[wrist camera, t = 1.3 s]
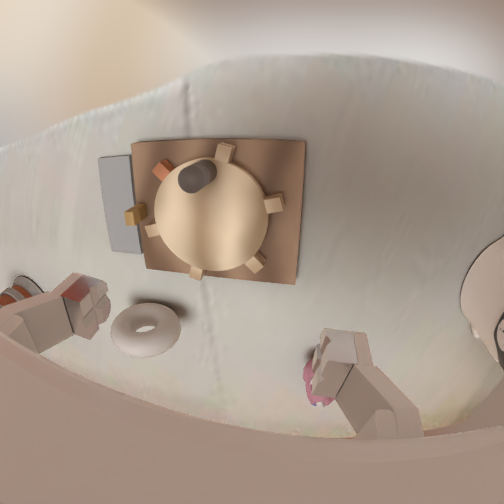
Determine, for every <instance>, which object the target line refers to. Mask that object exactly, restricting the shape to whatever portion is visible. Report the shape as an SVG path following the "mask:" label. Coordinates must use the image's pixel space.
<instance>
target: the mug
mask: <svg viewBox="0 0 504 504" xmlns="http://www.w3.org/2000/svg"><path fill="white" fill-rule="evenodd" d="M42 293H43V292H42V290H41V289H40V288H39V287H38V286H37V285H36V284H35V283H34V282H33V281H31V280H30V279H28V278H25V277H21V276H19V277H17V278H16V279H15V281H14V284H13V287H12V288H10V287H9V288H7V289H5V290H4V291H3V292H2V293H1V294H0V309H1V308H2V307H3V306H6V305H8V304H11V303H14V302H17V301H20V300H24V299H27V298H30V297H33V296H36V295H39V294H42Z"/></svg>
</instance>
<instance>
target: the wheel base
mask: <svg viewBox="0 0 504 504" xmlns="http://www.w3.org/2000/svg"><path fill="white" fill-rule="evenodd" d="M222 142H223V143H227V144H230V145H234V146H236V147H235V150H234V154H233V158H232V162H234V163H236V164H238V165H240V166H242V167H243V168H244V169H246V170H247V171H248V172H249V173H250V174H251V175H253V177H254V178H255V179H256V180H257V181H258V183H259V184H260V186H261V188H262V190H263V192H264V194H265V196H268V195H274V194H279V193H281V194H282V199H283V203H284V209H283V211H280V212H274V213H269V223H268V228H267V232H266V235H265V237H264V240H263V242H262V245H261V246H260V248H259V250H258V252H259V253H260V254H261V255H262V256H263V257H264V258H265V259H266V261H265V265H264V267H263V268H262V269H260V270H259V271H258V272H256V273H255V274H254V273H253V272H252V271H251V270H250V269H249V268H248V267H247V266H246V265H245V264H242V265H240V266H238V267H236V268H233V269H229V270H224V271H209V270H205V273H204V275H205V276H214V277H223V278H232V279H241V280H251V281H261V282H271V283H282V284H292V285H295V280H296V270H297V259H298V248H299V236H300V223H301V209H302V195H303V178H304V160H305V141H296V140H278V139H248V138H208V139H178V140H160V141H147V142H137V143H133V144H131V149H132V163H133V174H134V185H135V194H136V203H137V204H136V205H134V206H133V207H131V208H130V209H128V210H126V211H125V212H124V216H125V222H126V226H135V225H137V224H138V223H139V226H140V233H141V239H142V246H143V252H144V258H145V263H146V268H147V269H155V270H163V271H171V272H179V273H187V274H190V269H191V265H189V264H188V263H186V262H184V261H183V260H181V259H180V258H178V257H177V256H176V255H175V254H174V253H173V252H172V251H171V250H170V249H169V248H168V247H167V245H166V244H165V243H164V241H163V239H162V237H161V236H160V235H158V236H153V237H148V234H147V232H146V229H145V226H146V225H147V224H148V223H150V222H151V221H155V215H154V205H155V198H156V194H157V192H158V189H159V187H160V185H161V183H162V182H163V181H161V180H160V179H159V178H158V177H157V176H156V175H155V174H154V173H153V172H152V171H153V169H154V168H155V167H156V165H157V164H158V163H159V162H160V161H163V160H167V161H168V162H169V163H170V164H171V165H172V166H173V167H174V168H177V167H178V166H180V165H182V164H184V163H186V162H188V161H191V160H194V159H197V158H202V157H215V154H216V150H217V146H218V144H219V143H222Z"/></svg>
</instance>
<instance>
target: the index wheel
mask: <svg viewBox="0 0 504 504" xmlns="http://www.w3.org/2000/svg"><path fill="white" fill-rule="evenodd" d="M235 147H236V146H234V145H230V144H227V143H223V142H222V143H219V144H218V146H217V150H216V154H215V157H202V158H197V159H194V160H191V161H188V162H186V163H184V164H182V165H180V166H178V167H177V168H174V167H173V166H172V165H171V164H170V163H169V162H168V161H167V160H163V161H160V162H159V163H158V164H157V165H156V167H155V168H154V169H153V171H152V172H153V173H154V174H155V175H156V176H157V177H158V178H159V179H160V180H161V181H163V182H162V183H161V185H160V187H159V189H158V192H157V194H156V198H155V205H154V215H155V221H151V222H150V223H148V224H147V225H146V226H145V229H146V232H147V234H148V237H153V236H158V235H160V236H161V237H162V239H163V241H164V243H165V244H166V245H167V247H168V248H169V249H170V250H171V251H172V252H173V253H174V254H175V255H176V256H177V257H178V258H180V259H181V260H183V261H184V262H186V263H188V264H189V265H191V269H190V274H189V277H191V278H194V279H196V280H199V281H200V280H201V279H202V277H203V275H204V273H205V270H209V271H224V270H229V269H233V268H236V267H238V266H240V265H242V264H245V265H246V266H247V267H248V268H249V269H250V270H251V271H252V272H253V273H254V274H255V273H256V272H258V271H259V270H260V269H262V268H263V267H264V265H265V261H266V259H265V258H264V257H263V256H262V255H261V254H260V253H259V252H258V250H259V248H260V246H261V245H262V242H263V240H264V237H265V235H266V232H267V228H268V223H269V213H274V212H280V211H283V209H284V203H283V199H282V194H281V193H279V194H274V195H268V196H265V194H264V192H263V190H262V188H261V186H260V184H259V183H258V181H257V180H256V179H255V178H254V177H253V175H251V174H250V173H249V172H248V171H247V170H246V169H244V168H243V167H242V166H240V165H238V164H236V163H234V162H232V158H233V154H234V150H235Z"/></svg>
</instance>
